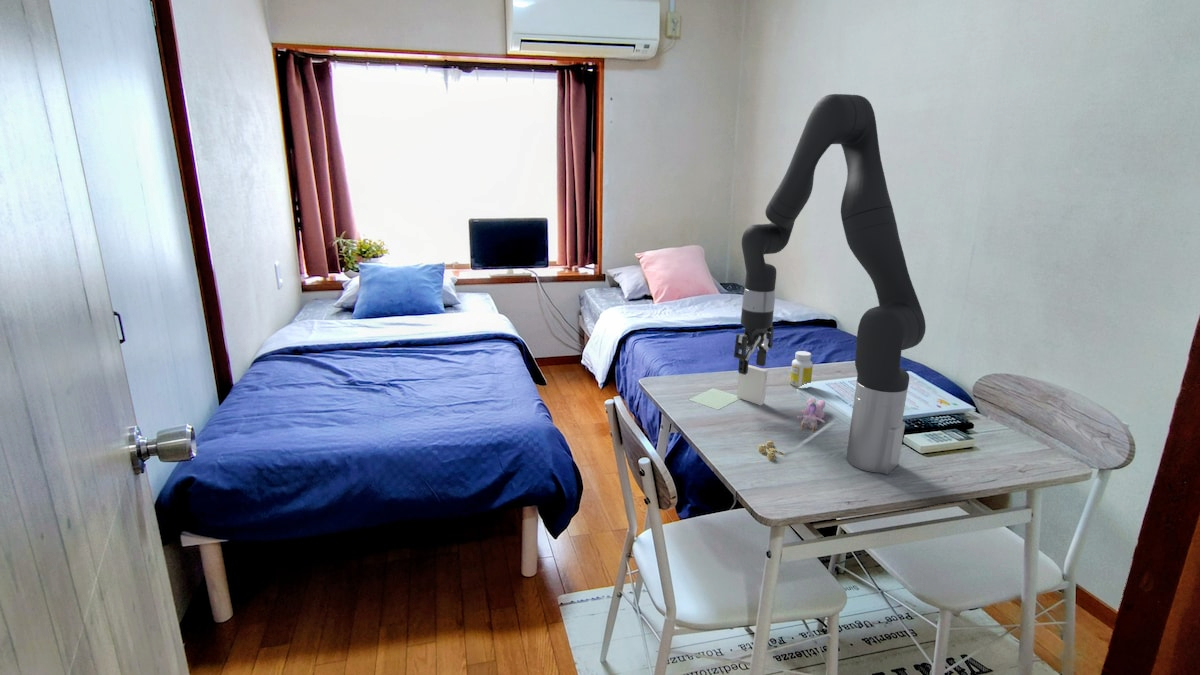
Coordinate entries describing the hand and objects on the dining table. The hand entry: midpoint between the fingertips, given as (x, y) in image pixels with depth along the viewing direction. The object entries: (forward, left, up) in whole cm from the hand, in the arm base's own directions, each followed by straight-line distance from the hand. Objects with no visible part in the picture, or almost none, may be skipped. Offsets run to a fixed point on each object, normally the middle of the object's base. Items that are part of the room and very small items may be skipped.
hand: (751, 369), depth 151 cm
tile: (0, 0, -8) cm, 8 cm away
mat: (+4, +3, -9) cm, 10 cm away
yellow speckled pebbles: (-18, +21, -10) cm, 29 cm away
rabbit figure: (-17, -1, -9) cm, 19 cm away
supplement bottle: (-4, -19, -9) cm, 21 cm away
